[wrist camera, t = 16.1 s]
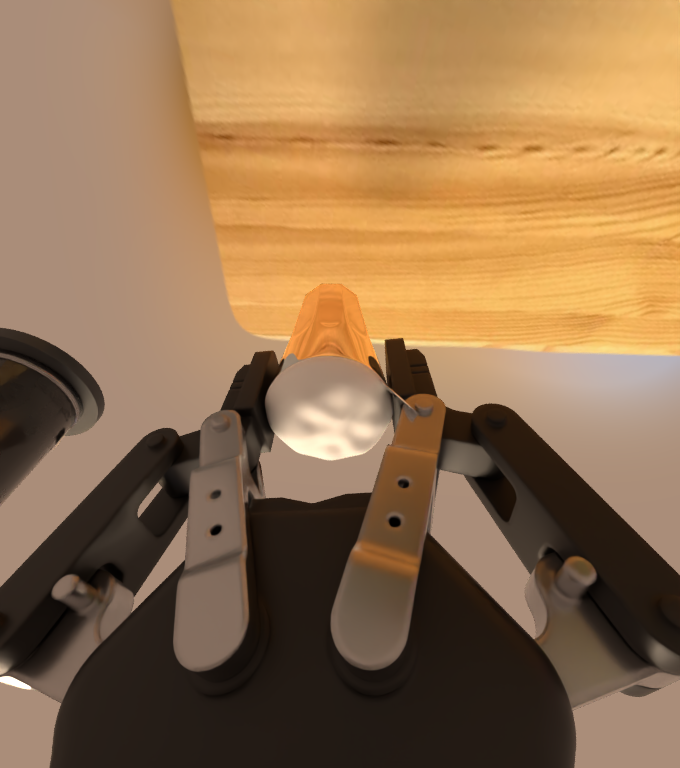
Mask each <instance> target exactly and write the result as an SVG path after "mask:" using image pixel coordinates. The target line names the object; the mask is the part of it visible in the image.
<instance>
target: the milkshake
mask: <svg viewBox="0 0 680 768" xmlns="http://www.w3.org/2000/svg"><path fill="white" fill-rule="evenodd" d="M390 393H392V394H393V395H395V396H396V397H397V398H398V399H399V400H400V401H401V402H402V403H403V404H405V405H406V406H407V407H409V408H410V409H411V410H412V411H413V412H414V413H415V414H416V415H418V413H417V412H416V411H415V410H414V408H413V407H412V406H410V405H409V404H408V403H407V402H406V401H405V400H404V399H402V398H401V397H400V396H399V395H398V394H397V393H395V392H394V391H393V390H392V389H391V388H390V387H388V386H387V383H386V380H385V377H384V375H383V372H382V369H381V366H380V364H379V361H378V358H377V356H376V353H375V351H374V348H373V346H372V343H371V341H370V338H369V335H368V332H367V328H366V325H365V322H364V318H363V315H362V311H361V308H360V305H359V301H358V298H357V295H356V294H354V293H353V292H352V291H350V290H349V289H347V288H346V287H345V286H343V285H342V284H320V285H319V286H317V287H316V288H315V289H313V290H312V291H310V292H309V293H307V294H306V295H305V298H304V301H303V304H302V307H301V310H300V313H299V316H298V318H297V321H296V324H295V327H294V330H293V333H292V335H291V338H290V341H289V343H288V345H287V348H286V350H285V352H284V354H283V357H282V359H281V361H280V364H279V366H278V369H277V371H276V373H275V376H274V378H273V381H272V383H271V385H270V387H269V389H268V391H267V394H266V398H265V409H266V414H267V419H268V422H269V425H270V427H271V429H272V431H273V432H274V433H275V434H276V435H277V436H278V437H279V438H280V439H281V440H282V441H283V442H285V443H286V444H287V445H288V446H289V447H290V448H292V449H293V450H294V451H296V452H298V453H300V454H304V455H309V456H314V457H317V458H320V459H324V460H338V459H342V458H346V457H350V456H356V455H361V454H364V453H366V452H367V451H369V450H370V449H371V448H372V447H373V446H374V445H375V444H376V443H377V442H378V441H379V440H380V438H381V437H382V435H383V434H384V432H385V430H386V428H387V427H388V425H389V423H390V421H391V419H392V416H393V403H392V396H391V394H390Z"/></svg>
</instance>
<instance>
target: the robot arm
mask: <svg viewBox="0 0 680 768" xmlns="http://www.w3.org/2000/svg"><path fill="white" fill-rule="evenodd" d="M385 354H386V374H387V385H388V387H390V388H391V389H392V390H393V391H394V392H395V393H397V394H398V395H399V396H400V397H401V398H402V399H404V400H405V401H406V402H407V403H408V404H409V405H410V406H412V407H413V408H414V410H415V411H416V412H417V413H418V415H416V414H415V413H414V412H413V411H412V410H411V409H410V408H409V407H407V406H406V405H405V404H403V403H402V402H401V401H400V400H399V399H398V398H397V397H396V396H395V395H393V394H392V393H390V394H391V396H392V403H393V416H392V420H393V426H394V434H395V435H394V438H393V441H392V444H391V445H389V444H388V445H387V447H386V449H385V452H384V455H383V459H382V462H381V465H380V469H379V472H378V475H377V478H376V481H375V485H374V488H373V491H372V493H356V494H345V495H341V496H337V497H334V498H331V499H327V500H324V501H321V502H317V503H307V502H302V501H297V500H291V499H286V498H266V496H265V490H264V483H263V476H262V470H261V464H260V462H259V457H260V453H263V452H270V451H271V447H272V443H273V438H274V434H275V433H274V432H273V431H272V429H271V427H270V425H269V422H268V419H267V414H266V409H265V398H266V394H267V391H268V389H269V387H270V385H271V383H272V381H273V378H274V376H275V373H276V371H277V369H278V366H279V364H278V361H277V358H276V355H275V352H274V351H263V352H255V354H254V356H253V359H252V361H251V364H250V365H244V366H243V367H242V368H241V369H240V370H239V371H238V372H237V373H236V376H235V378H234V380H233V383H232V385H231V387H230V390H229V392H228V394H227V396H226V398H225V401H224V403H223V405H222V408H221V410H220V411H219V412H216V413H214V414H212V415H210V416H209V417H208V418H207V419H205V421H204V422H203V424H202V426H201V430H198V431H195V432H192V433H189V434H186V435H183V436H179V435H178V434H177V432H176V431H175V430H174V429H171V428H162V429H158V430H156V431H153V432H151V433H149V434H148V435H146V436H145V437H144V438H143V439H142V440H141V441H140V442H139V443H138V444H137V445H136V446H135V447H134V448H133V449H132V450H131V451H130V452H129V453H128V454H127V455H126V456H125V458H123V460H121V462H120V463H119V464H118V465H117V466H116V467H115V468H114V469H113V470H112V471H111V472H110V473H109V474H108V475H107V476H106V477H105V478H104V479H103V480H102V481H101V482H100V484H99V485H98V486H97V487H96V488H95V489H94V490H93V491H92V492H91V493H90V494H89V495H88V496H87V497H86V498H85V499H84V500H83V501H82V503H80V505H78V507H77V508H76V509H75V510H74V511H73V512H72V513H71V514H70V515H69V516H68V517H67V518H66V519H65V520H64V521H63V522H62V523H61V524H60V525H59V526H58V527H57V529H56V530H55V531H54V532H53V533H52V534H51V535H50V536H49V537H48V538H47V539H46V540H45V541H44V542H43V543H42V544H41V545H40V546H39V547H38V548H37V550H36V551H35V552H34V553H33V554H32V555H31V556H30V557H29V558H28V559H27V560H26V561H25V562H24V563H23V564H22V566H20V567H19V568H18V570H16V571H15V573H14V574H13V575H12V576H11V577H10V578H9V579H8V580H7V581H6V582H5V583H4V584H3V585H2V586H1V587H0V682H1V683H5V684H8V685H11V686H14V687H18V688H21V689H33V690H35V691H39V692H41V693H43V694H45V695H47V696H49V697H51V698H52V699H54V700H56V701H58V702H60V703H61V706H60V709H59V712H58V716H57V720H56V724H55V728H54V737H53V746H52V756H51V762H50V768H574V763H575V751H576V731H575V723H574V717H573V712H572V711H573V710H576V709H578V708H581V707H583V706H585V705H588V704H590V703H592V702H595V701H597V700H600V699H602V698H605V697H607V696H610V695H612V694H614V693H617V692H622V693H624V694H626V695H629V696H635V697H642V696H646V695H648V694H650V693H652V692H655V691H657V690H659V689H661V688H663V687H665V686H668V685H670V684H672V683H674V682H676V681H678V680H680V575H679V574H678V573H677V572H676V571H675V570H674V569H673V568H672V567H671V566H670V565H669V564H668V563H667V562H666V561H665V560H664V559H663V558H662V557H661V556H660V555H659V554H658V553H657V552H656V551H655V550H654V549H653V548H652V547H651V546H650V545H649V544H648V543H647V542H646V541H645V540H644V539H643V538H642V537H640V535H638V533H637V532H636V531H635V530H634V529H633V528H632V527H631V526H630V525H628V524H627V522H625V521H624V519H622V518H621V517H620V516H619V515H618V514H617V513H616V512H615V511H614V510H613V509H612V508H611V507H610V506H609V505H608V504H607V503H606V502H605V501H604V500H603V499H602V498H601V497H600V496H599V495H598V494H597V493H596V492H595V491H594V490H593V489H592V488H591V487H590V486H589V485H588V484H587V483H586V482H585V481H584V480H583V479H582V478H581V477H580V476H579V475H578V474H577V473H576V472H575V471H574V470H573V469H572V468H571V467H570V466H569V465H568V464H567V463H566V462H565V461H564V460H563V459H562V458H561V457H560V456H559V455H558V454H557V453H556V452H555V451H554V450H553V449H552V448H551V447H550V446H549V445H548V444H547V443H546V442H545V441H544V440H543V439H542V438H541V437H539V435H538V434H537V433H536V432H535V431H534V430H533V429H532V428H531V427H530V426H528V424H527V423H526V422H524V420H523V419H522V418H521V417H520V416H519V415H518V414H517V413H515V412H514V411H513V410H512V409H510V408H508V407H506V406H503V405H499V404H484V405H481V406H478V407H477V408H476V409H475V410H474V411H473V413H467V412H460V411H456V410H452V409H450V408H448V407H446V406H445V404H444V402H443V401H442V400H441V399H439V398H438V397H437V394H436V391H435V388H434V385H433V381H432V378H431V375H430V373H429V368H428V366H427V362H426V359H425V356H424V355H423V354H422V353H421V352H420V351H419V350H417V349H412V350H406V349H405V344H404V340H403V338H399V339H389V340H385ZM82 414H83V405H82V402H81V399H80V397H79V395H78V393H77V392H76V391H75V389H74V388H73V387H72V386H71V384H70V383H69V382H68V381H67V380H66V379H64V378H63V377H62V376H61V375H60V374H58V373H57V372H56V371H54V370H53V369H52V368H50V367H48V366H47V365H45V364H43V363H41V362H40V361H38V360H36V359H33V358H31V357H29V356H26V355H24V354H21V353H18V352H14V351H10V350H5V349H0V506H1V505H2V504H3V502H4V501H5V500H6V499H7V498H8V497H9V496H10V494H11V493H12V492H13V491H14V490H15V489H16V488H17V487H18V485H20V483H21V482H22V481H23V480H24V479H25V478H26V477H27V476H28V475H29V473H30V472H31V471H32V470H33V469H34V468H35V467H36V465H38V463H39V462H40V461H41V460H42V459H43V458H44V457H45V456H46V455H47V453H48V452H49V451H50V450H51V449H52V448H53V447H54V446H55V445H56V444H57V445H56V446H55V448H56V447H57V446H58V444H59V443H60V442H61V440H62V439H63V437H64V436H65V434H66V433H67V431H68V430H70V429H71V428H72V427H73V426H74V425H75V424H76V423H77V422H78V421H79V420H80V418H81V416H82ZM58 441H59V442H58ZM57 442H58V443H57ZM55 448H54V449H55ZM440 470H444V471H449V472H453V473H458V474H463V475H464V476H465V478H466V480H467V481H468V482H469V484H470V485H471V487H472V488H473V490H474V491H475V493H476V494H477V496H478V497H479V499H480V500H481V502H482V503H483V505H484V506H485V508H486V509H487V511H488V512H489V514H490V515H491V517H492V518H493V520H494V521H495V523H496V524H497V526H498V527H499V529H500V530H501V532H502V533H503V535H504V536H505V538H506V539H507V541H508V542H509V544H510V545H511V547H512V548H513V549H514V551H515V553H516V554H517V555H518V557H519V558H520V560H521V561H522V563H523V564H524V566H525V567H526V569H527V570H528V572H529V573H530V575H531V576H530V577H529V579H528V581H527V584H526V587H525V598H526V601H527V604H528V607H529V609H530V611H531V613H532V615H533V618H534V621H535V626H536V636H535V639H533V638H532V637H531V636H530V635H529V634H528V633H527V632H526V631H525V630H524V629H523V628H522V627H521V626H520V625H519V624H518V623H517V622H516V621H515V620H514V619H513V618H512V617H511V616H510V615H509V614H508V613H507V612H506V611H505V610H504V609H503V608H502V607H501V606H500V605H499V604H498V603H497V602H496V601H495V600H494V599H493V598H492V597H491V596H490V595H489V594H488V593H487V592H486V591H485V590H484V589H483V588H482V587H481V586H480V585H479V584H478V582H477V581H476V580H475V579H474V578H473V577H472V576H471V575H470V574H469V573H468V572H467V571H466V570H465V569H463V567H462V566H461V565H460V564H459V563H458V562H457V561H456V560H455V559H454V558H453V557H452V556H451V555H450V554H449V553H448V552H447V551H446V550H445V549H444V548H443V547H442V546H441V545H440V544H439V543H438V542H437V541H436V540H435V539H434V538H433V537H432V536H431V528H432V521H433V512H434V505H435V498H436V491H437V485H438V478H439V471H440ZM158 482H159V484H160V485H161V486H162V489H161V490H160V492H159V493H158V494H157V495H156V497H155V498H154V499H153V500H152V502H151V503H150V504H149V506H148V507H147V508H146V509H145V511H144V512H143V513H142V514H141V516H140V517H139V518H138V516H137V512H138V508H139V506H140V504H141V503H142V501H143V500H144V499H145V498H146V496H147V495H148V494H149V493H150V491H151V490H152V489H153V488H154V486H155V485H156V484H157V483H158ZM187 517H188V523H187V539H186V555H185V560H184V561H183V562H182V563H181V565H179V567H177V569H175V570H174V571H173V572H172V573H171V574H170V575H169V576H168V578H166V579H165V581H163V582H162V584H160V585H159V586H158V587H157V588H156V589H155V590H154V591H153V592H152V593H151V594H150V595H149V596H148V597H147V598H146V599H145V600H144V601H143V602H142V603H141V604H140V605H139V606H138V608H136V609H135V610H134V611H133V612H132V613H131V611H132V608H133V604H134V596H135V595H136V593H137V592H138V591H139V589H140V588H141V586H142V585H143V583H144V582H145V580H146V579H147V577H148V576H149V574H150V573H151V571H152V570H153V568H154V567H155V565H156V564H157V562H158V561H159V559H160V558H161V556H162V555H163V553H164V552H165V550H166V549H167V547H168V546H169V544H170V543H171V541H172V540H173V538H174V537H175V535H176V534H177V532H178V531H179V529H180V528H181V526H182V525H183V523H184V522H185V520H186V519H187Z"/></svg>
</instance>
